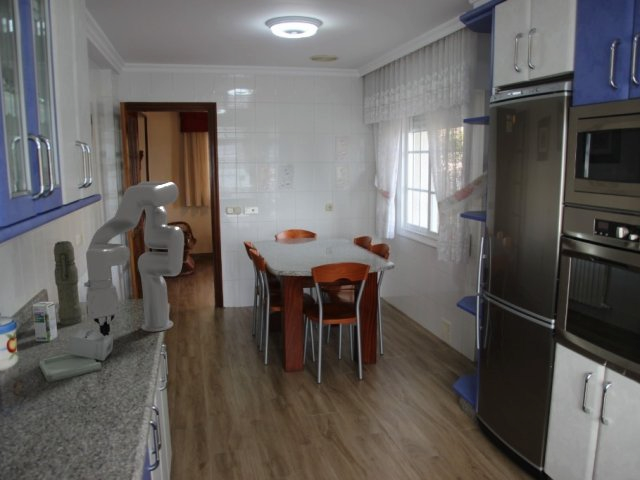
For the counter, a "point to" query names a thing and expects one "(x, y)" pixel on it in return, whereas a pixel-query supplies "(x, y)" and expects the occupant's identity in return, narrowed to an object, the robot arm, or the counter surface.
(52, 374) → the tray
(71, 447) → the counter surface
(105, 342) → the supplement box
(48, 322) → the syrup box
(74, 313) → the stone figurine
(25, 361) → the counter surface
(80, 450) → the counter surface
